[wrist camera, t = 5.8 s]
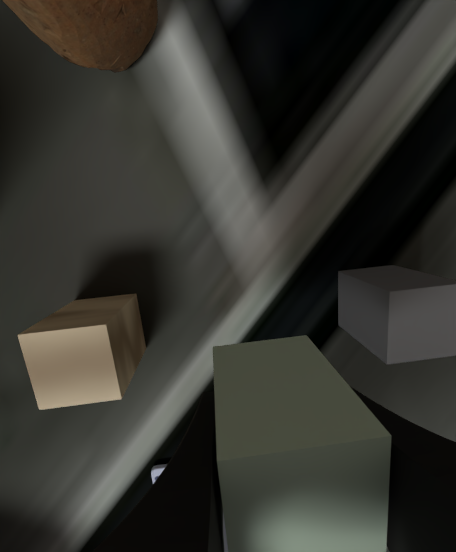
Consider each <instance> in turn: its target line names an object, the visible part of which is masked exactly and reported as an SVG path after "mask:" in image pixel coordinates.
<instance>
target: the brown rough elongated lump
mask: <svg viewBox="0 0 456 552" xmlns="http://www.w3.org/2000/svg"><path fill="white" fill-rule="evenodd" d="M2 1H3V2H5V3H6V4H7V5H8V7H9V8H10V9H11V10H12V11H13V12H14V13H15V14H16V15H17V16H18V17H19V18H20V19H21V20H22V21H23V22H24V24H25V25H26V26H27V27H28V28H29V29H30V30H31V31H32V32H33V33H34V34H35V35H37V36H38V37H39V38H40V39H41V40H42V41H44V42H45V43H46V44H48V45H49V46H50V47H51V48H52V49H53V50H54V51H55V52H56V53H57V54H59V55H60V56H62V57H63V58H64V59H66V60H67V61H69V62H72V63H74V64H77V65H79V66H82V67H88V68H91V67H92V68H99V69H100V70H111V71H113V72H120V71H124V70H126V69H127V68H128V67H129V66H130V65H131V64H132V63H133V62H135V61H136V60H137V59H138V58H139V57H140V56H141V55H142V53H143V51H144V49H145V47H146V45H147V44H148V43H149V42H150V40H151V38H152V36H153V33H154V31H155V29H156V25H157V21H158V10H157V0H2Z"/></svg>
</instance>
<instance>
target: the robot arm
mask: <svg viewBox="0 0 456 552" xmlns="http://www.w3.org/2000/svg"><path fill="white" fill-rule="evenodd" d="M351 389H352V390H353V391H354V392H355V393H356V394H357V396H358V397H359V398H360V399H361V400H362V402H363V403H364V404H365V405H366V406H367V407H368V409H369V410H370V411H371V412H372V413H373V415H374V416H375V417H376V418H377V419H378V420H379V422H380V423H381V424H382V425H383V426H384V428H385V429H386V430H387V431H388V432H389V433H390V435H391V457H390V479H389V500H388V522H387V547H388V549H389V551H390V552H456V442H454V441H451V440H449V439H446V438H444V437H442V436H439V435H437V434H435V433H433V432H430V431H428V430H426V429H424V428H422V427H420V426H418V425H416V424H414V423H412V422H410V421H408V420H406V419H404V418H402V417H400V416H398V415H397V414H395V413H393V412H391V411H389V410H388V409H386V408H384V407H382V406H381V405H379V404H377V403H376V402H374V401H372V400H371V399H369V398H367V397H366V396H364V395H363V394H361V393H359V392H358V391H356V390H355V389H353V388H352V387H351ZM151 476H152V481H153V485H152V487H151V488H150V489H149V490H148V492H147V493H146V494H145V495H144V497H143V498H142V499H141V500H140V501H139V503H138V504H137V505H136V506H135V507H134V508H133V510H132V511H131V512H130V513H129V514H128V515H127V517H126V518H125V519H124V520H123V521H122V522H121V523H120V524H119V525H118V526H117V527H116V528H115V529H114V530H113V531H112V532H111V533H110V534H109V535H108V536H107V537H106V538H105V539H104V540H103V541H102V542H101V543H100V544H99V545H98V546H97V547H96V548H95V549H94V550H93V551H92V552H228V545H227V537H226V529H225V521H224V513H223V506H222V498H221V490H220V482H219V474H218V466H217V451H216V423H215V395H214V391H211V392H203V394H202V395H201V398H200V401H199V404H198V407H197V409H196V412H195V414H194V416H193V418H192V421H191V423H190V425H189V427H188V429H187V431H186V433H185V435H184V437H183V439H182V440H181V442H180V444H179V446H178V448H177V450H176V451H175V453H174V455H173V456H172V458H171V459H170V461H169V462H168V464H162V465H156V466H154V467H153V468H152V471H151ZM157 476H159V477H157Z"/></svg>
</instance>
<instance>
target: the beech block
mask: <svg viewBox="0 0 456 552" xmlns="http://www.w3.org/2000/svg"><path fill="white" fill-rule="evenodd" d="M18 338H19V342H20V345H21V349H22V352H23V356H24V359H25V362H26V366H27V369H28V373H29V376H30V380H31V383H32V387H33V390H34V393H35V397H36V400H37V404H38V407H39V410H43V409H50V408H58V407H66V406H73V405H81V404H88V403H96V402H104V401H111V400H119V399H122V397H123V395H124V393H125V391H126V389H127V387H128V385H129V383H130V381H131V379H132V377H133V375H134V373H135V370H136V368H137V366H138V364H139V362H140V360H141V358H142V356H143V354H144V352H145V350H146V345H145V339H144V333H143V328H142V322H141V317H140V311H139V306H138V300H137V294H136V293H135V294H127V295H118V296H109V297H100V298H91V299H82V300H74V301H73V302H71V303H69V304H68V305H66V306H64V307H63V308H61V309H59V310H58V311H56V312H55V313H53V314H51V315H50V316H48V317H46V318H45V319H43V320H41V321H40V322H38V323H36V324H35V325H33V326H31V327H30V328H28V329H26V330H25V331H23V332H21V333H20V334H18Z"/></svg>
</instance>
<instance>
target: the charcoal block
mask: <svg viewBox="0 0 456 552" xmlns="http://www.w3.org/2000/svg"><path fill="white" fill-rule="evenodd" d="M338 325H339V326H340V327H341V328H342V329H344V330H345V331H346V332H347V333H349V334H350V335H351V336H352V337H354V338H355V339H356V340H357V341H358V342H360V343H361V344H362V345H363V346H365V347H366V348H367V349H368V350H369V351H371V352H372V353H373V354H374V355H376V356H377V357H378V358H379V359H381V360H382V361H383V362H384V363H385V364H387V365H388V364H395V363H403V362H411V361H418V360H426V359H434V358H441V357H449V356H456V280H453V279H449V278H444V277H440V276H436V275H432V274H428V273H424V272H420V271H416V270H412V269H408V268H404V267H400V266H396V265H389V266H380V267H371V268H362V269H353V270H344V271H338Z"/></svg>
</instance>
